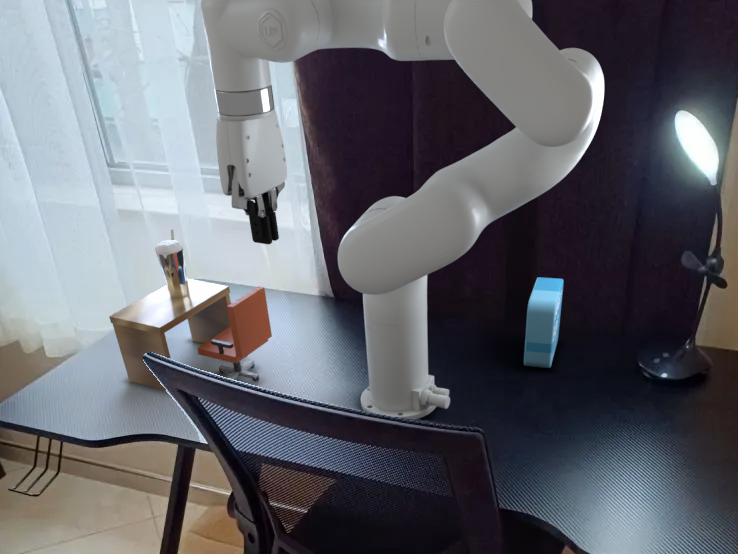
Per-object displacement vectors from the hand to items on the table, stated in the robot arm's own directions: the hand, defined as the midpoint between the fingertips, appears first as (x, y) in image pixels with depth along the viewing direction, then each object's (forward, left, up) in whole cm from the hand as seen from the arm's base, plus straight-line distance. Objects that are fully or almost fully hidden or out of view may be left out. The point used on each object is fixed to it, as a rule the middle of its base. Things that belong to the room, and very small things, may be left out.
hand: (266, 240), depth 116 cm
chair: (+10, 0, -25) cm, 27 cm away
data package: (-34, -29, -25) cm, 51 cm away
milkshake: (+23, -3, -13) cm, 27 cm away
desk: (+22, 0, -25) cm, 34 cm away
